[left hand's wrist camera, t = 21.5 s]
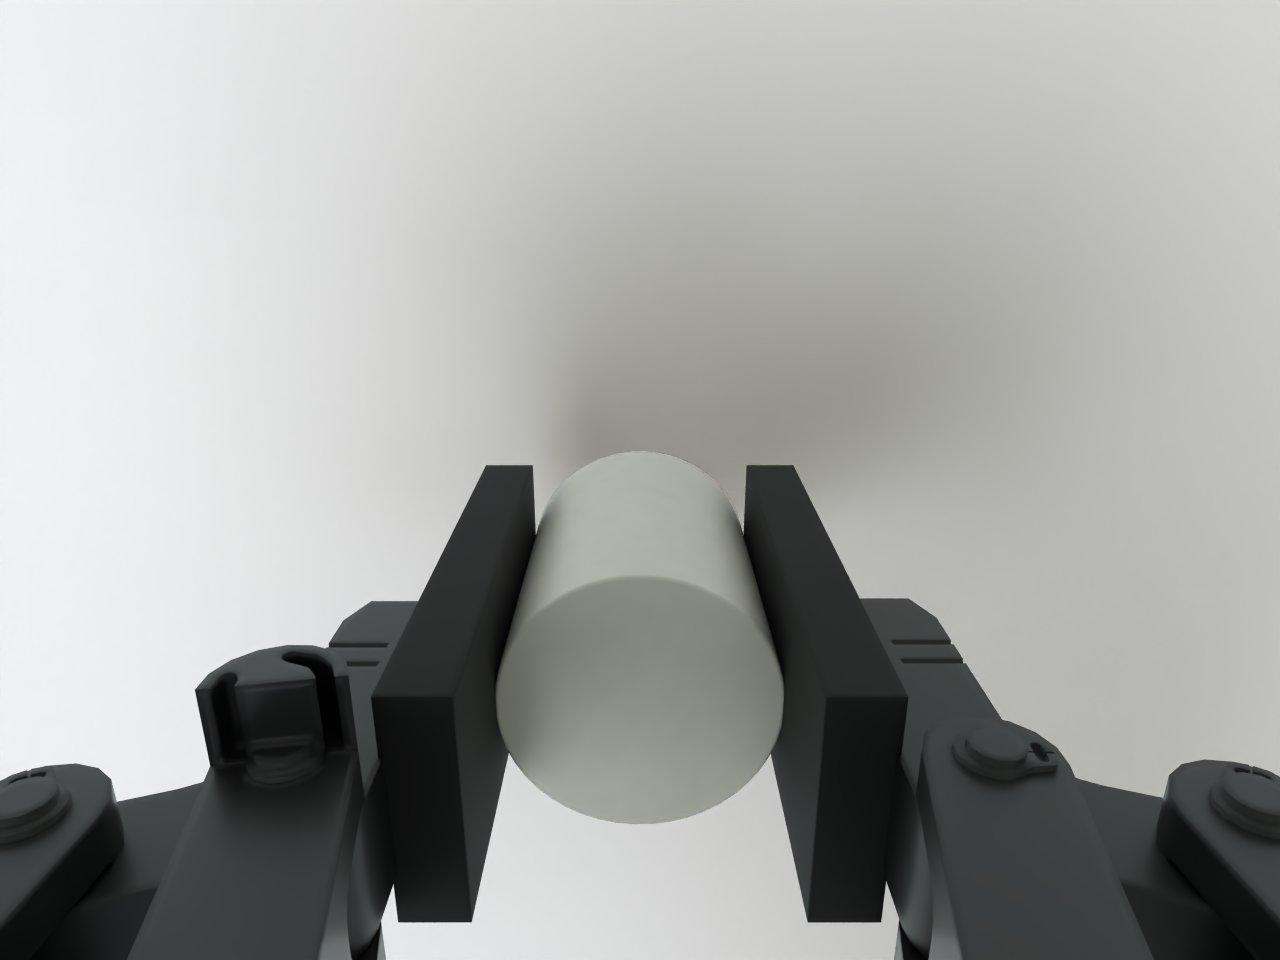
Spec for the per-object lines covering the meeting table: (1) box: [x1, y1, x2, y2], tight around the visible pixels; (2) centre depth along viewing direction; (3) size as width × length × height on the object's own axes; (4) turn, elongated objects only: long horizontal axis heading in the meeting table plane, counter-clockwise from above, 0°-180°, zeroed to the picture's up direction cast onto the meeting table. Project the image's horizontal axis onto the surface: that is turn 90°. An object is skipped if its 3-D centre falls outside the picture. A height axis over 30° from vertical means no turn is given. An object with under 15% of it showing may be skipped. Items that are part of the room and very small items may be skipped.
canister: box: [495, 451, 784, 824], centre depth 13 cm, size 4×4×5 cm
